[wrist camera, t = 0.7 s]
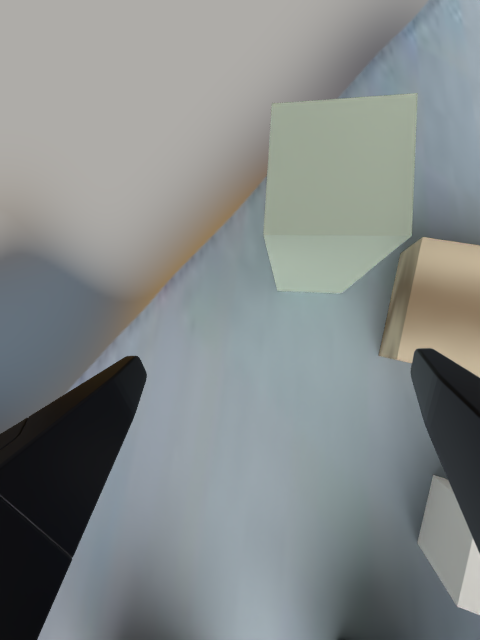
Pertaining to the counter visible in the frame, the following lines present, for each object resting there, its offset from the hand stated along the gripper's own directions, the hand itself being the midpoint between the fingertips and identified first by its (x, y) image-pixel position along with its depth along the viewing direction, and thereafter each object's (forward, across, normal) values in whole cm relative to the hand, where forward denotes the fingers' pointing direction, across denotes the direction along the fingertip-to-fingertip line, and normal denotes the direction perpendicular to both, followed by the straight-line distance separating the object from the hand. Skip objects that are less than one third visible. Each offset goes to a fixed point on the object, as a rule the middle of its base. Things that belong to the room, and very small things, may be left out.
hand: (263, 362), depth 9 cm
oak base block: (+13, -12, +7) cm, 19 cm away
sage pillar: (+15, -2, +3) cm, 16 cm away
